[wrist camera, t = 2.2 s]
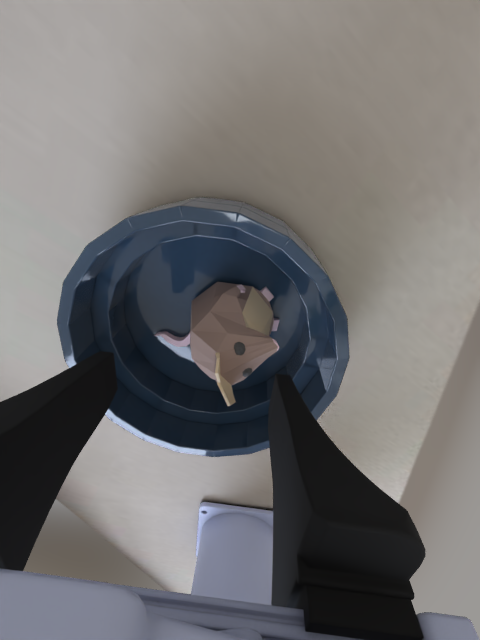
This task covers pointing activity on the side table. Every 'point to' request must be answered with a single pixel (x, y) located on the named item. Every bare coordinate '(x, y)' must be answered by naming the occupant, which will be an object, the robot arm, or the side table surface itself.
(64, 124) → the side table surface
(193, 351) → the mouse figurine
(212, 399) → the bowl
